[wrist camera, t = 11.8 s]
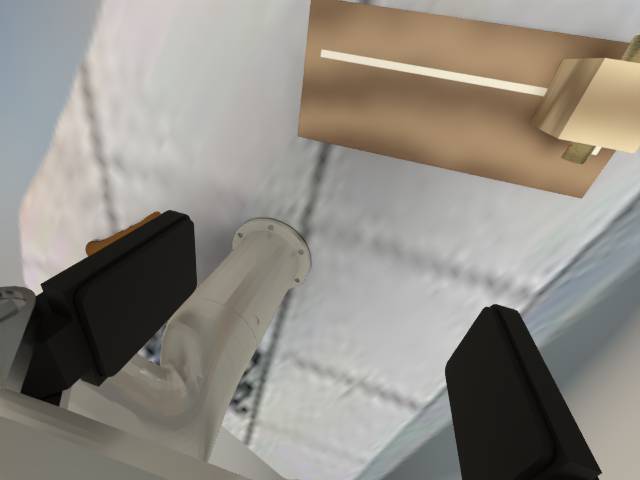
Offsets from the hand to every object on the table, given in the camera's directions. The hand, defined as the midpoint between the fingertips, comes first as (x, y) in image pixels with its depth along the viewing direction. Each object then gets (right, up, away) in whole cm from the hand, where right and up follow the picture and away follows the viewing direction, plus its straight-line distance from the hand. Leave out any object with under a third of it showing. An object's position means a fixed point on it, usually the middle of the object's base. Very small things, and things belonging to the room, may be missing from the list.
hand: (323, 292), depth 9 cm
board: (+13, +16, +19) cm, 28 cm away
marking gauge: (+21, +13, +15) cm, 29 cm away
